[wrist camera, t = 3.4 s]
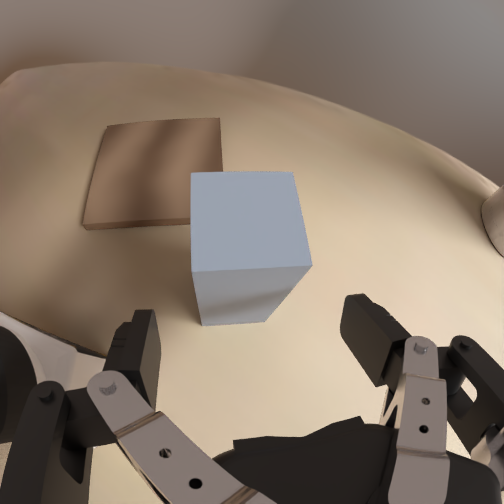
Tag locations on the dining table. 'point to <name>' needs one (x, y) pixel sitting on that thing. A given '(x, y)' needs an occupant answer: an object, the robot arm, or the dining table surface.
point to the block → (245, 244)
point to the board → (150, 172)
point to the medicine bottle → (37, 367)
